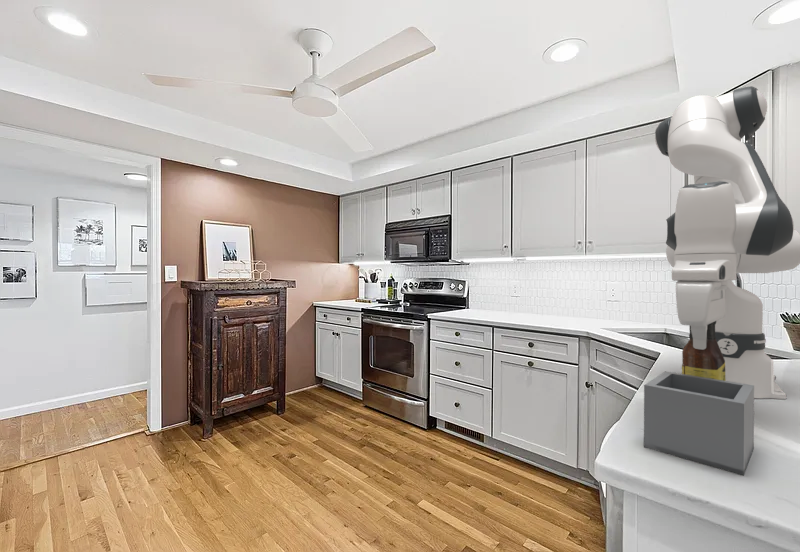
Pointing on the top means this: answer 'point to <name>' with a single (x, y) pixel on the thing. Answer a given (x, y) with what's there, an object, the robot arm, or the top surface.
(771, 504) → the top surface
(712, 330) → the sauce bottle
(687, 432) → the bin
